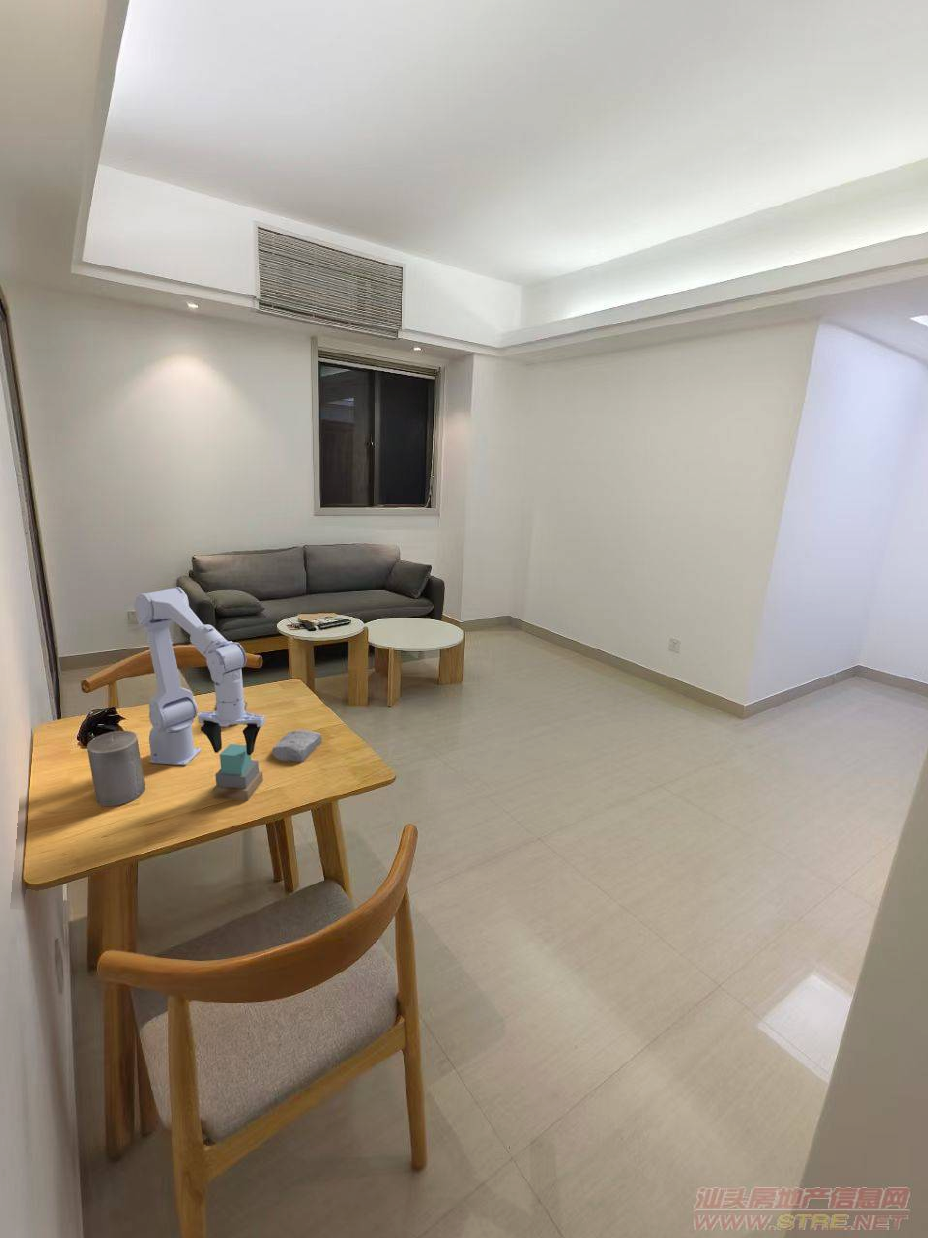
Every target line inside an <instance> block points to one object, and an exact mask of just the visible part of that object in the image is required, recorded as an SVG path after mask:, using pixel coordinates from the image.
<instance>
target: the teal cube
mask: <svg viewBox="0 0 928 1238" xmlns="http://www.w3.org/2000/svg"><path fill="white" fill-rule="evenodd" d="M251 756H252V754H251V755H247V750H246V744H245V745H244V744H234V743H230V744H229V745H228V746H227V747H226V748H224V750H223V751H222V752H221V753H220V754H219V762H220V769H221V773H224V774H235V775H242V774H243V773H244V772H245V771H246V770H247V768H248V767H249V766H250V765H251V760H252V757H251Z"/></svg>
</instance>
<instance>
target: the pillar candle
mask: <svg viewBox="0 0 928 1238" xmlns="http://www.w3.org/2000/svg"><path fill="white" fill-rule="evenodd" d="M86 750H87V755H88V763H89V767H90V773H91V777H92V783H93V790H94V796H95V800H96V803H98V805H100V806H102V807H117V806H120V805H123V804H126V803H129V802H132V801H134V800H136V799H138V798H140V797H141V796H142V795H143V794H144V792H145V790H146V787H145V786H146V782H145V777H144V769H143V763H142V758H141V752H140V751H141V750H140V745H139V737H138V735H137V733H136V732H134V731H131V730H114V731H110V732H106V733H102V734H100V735H97V736H96V737H93V738H92V739H91V740H89V741H88V742H87V744H86Z"/></svg>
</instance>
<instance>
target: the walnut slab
mask: <svg viewBox="0 0 928 1238" xmlns="http://www.w3.org/2000/svg"><path fill="white" fill-rule="evenodd" d="M263 781H264V778H263V771H259V773H258V774H257V775H256V777H255V778H254V779H253V780H252V782H251V783H250V784H249V786H248V787H247V788H233V787H220V786H216V785H215V786H214V787H213V788H212V790H213V798H214V799H226V800H235V801H236V800H238V801H249V800H250V799H251V797H252V796H253V795H254V793H255V792H256V790H258V788H259V787H260V785H262V783H263Z"/></svg>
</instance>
